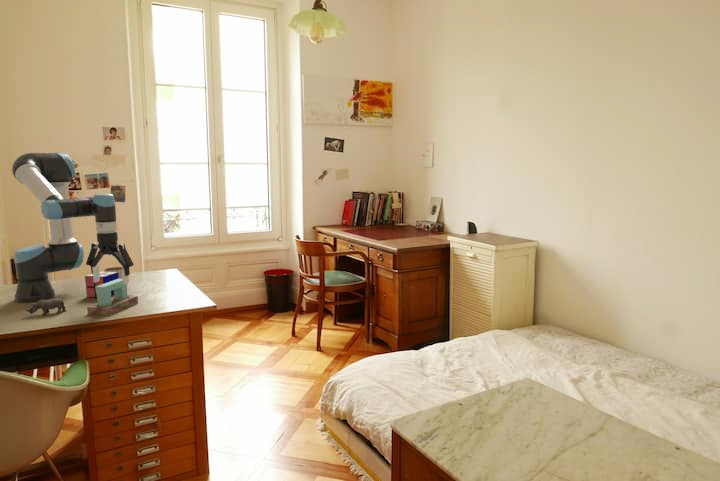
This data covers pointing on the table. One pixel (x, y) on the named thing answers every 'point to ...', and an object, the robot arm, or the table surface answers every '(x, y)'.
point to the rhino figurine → (47, 306)
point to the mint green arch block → (105, 292)
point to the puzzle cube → (99, 282)
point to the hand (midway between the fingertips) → (111, 282)
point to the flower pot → (115, 270)
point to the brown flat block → (112, 306)
